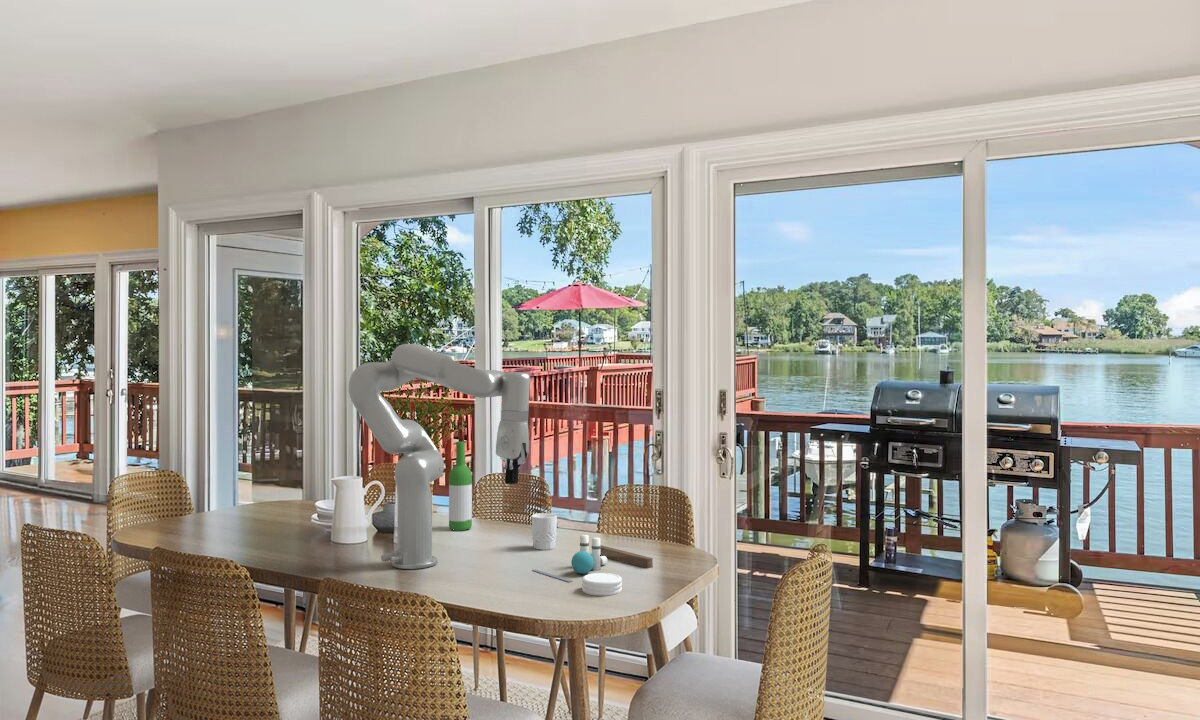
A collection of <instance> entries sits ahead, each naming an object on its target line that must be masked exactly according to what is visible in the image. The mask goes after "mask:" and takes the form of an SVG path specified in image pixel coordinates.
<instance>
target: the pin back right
mask: <svg viewBox="0 0 1200 720" xmlns="http://www.w3.org/2000/svg"><path fill="white" fill-rule="evenodd" d="M600 549H601V538H600V537H591V556H592V558H593V561H594V564H593V567H592V569H591V570H592V571H600V570H601V566H600V557H601V556H600Z"/></svg>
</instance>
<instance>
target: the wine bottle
mask: <svg viewBox="0 0 1200 720" xmlns="http://www.w3.org/2000/svg"><path fill="white" fill-rule="evenodd" d="M455 445H456V447H455V448H456V449H455V466H453V467H452V468H451V470H450V472H449V475H448V479H449V480H448V528H449V529H450V530H451V529H454V530H464V531H467V530H466V529H469V530H470V529H471V528H472V526H473V524H472V523H473V520H472V519H473V501H472V500H473V497H472V496H473V486H472V485H473V481H472V480H473V478H472V477H473V475H472V471H471V469H470V468H469V467H468V466H467V465H466V444H465V441H456V444H455ZM454 530H453V531H454Z"/></svg>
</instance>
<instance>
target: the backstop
mask: <svg viewBox="0 0 1200 720" xmlns="http://www.w3.org/2000/svg"><path fill="white" fill-rule="evenodd" d="M600 545H601V544H600ZM600 555H601V556H606V557H608V558H607V559H611V558H612V559H611V560H615V561H618V560H619V561H618V562H622V561H623V562H622V563H626V562H627V563H626V564H630V565H633V564H634V565H635V566H638V567H641V568H645V569H650V568H653V562H654V561H653V559H654V557H650V556H646V555H643V554H642V555H641V554H638V553H634V552H629V551H626V550H621V549H618V548H613V547H610V546H605V545H601V549H600ZM601 556H600V557H601ZM634 565H633V566H634Z"/></svg>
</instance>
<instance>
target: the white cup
mask: <svg viewBox="0 0 1200 720" xmlns="http://www.w3.org/2000/svg"><path fill="white" fill-rule="evenodd" d="M557 523H558V515H557V514H555V513H548V512H544V513H542V512H541V513H534V514H532V515H531V534H532V540H533V541H532V543H533V544H532V545H533V547H534V548H536V549H551V548H554V547H555V548H556V542H557V541H556V539H557V531H558V529H557V527H558V526H557V525H558V524H557ZM534 548H533V549H534ZM555 548H554V549H555ZM536 549H535V550H536ZM551 550H552V549H551Z"/></svg>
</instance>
